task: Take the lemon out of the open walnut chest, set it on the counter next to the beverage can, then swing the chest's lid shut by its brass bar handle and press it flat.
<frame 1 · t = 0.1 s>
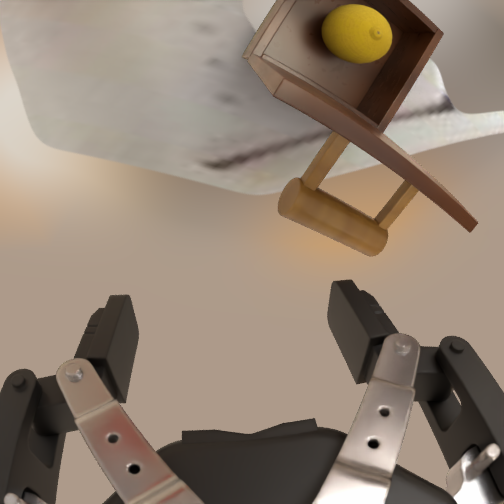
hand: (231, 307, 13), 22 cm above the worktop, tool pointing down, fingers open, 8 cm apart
chest: (332, 38, 25), on the worktop
lemon: (337, 34, 25), point 1 cm above the worktop, touching chest
lid: (331, 154, 19), point 13 cm above the worktop, hinge at 95.0°
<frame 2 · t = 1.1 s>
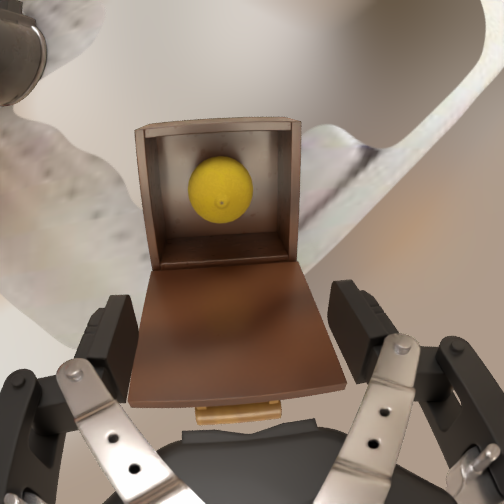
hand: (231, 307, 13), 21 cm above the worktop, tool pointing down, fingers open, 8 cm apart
chest: (219, 180, 32), on the worktop
lemon: (218, 177, 31), point 1 cm above the worktop, touching chest
lid: (231, 346, 24), point 13 cm above the worktop, hinge at 95.0°
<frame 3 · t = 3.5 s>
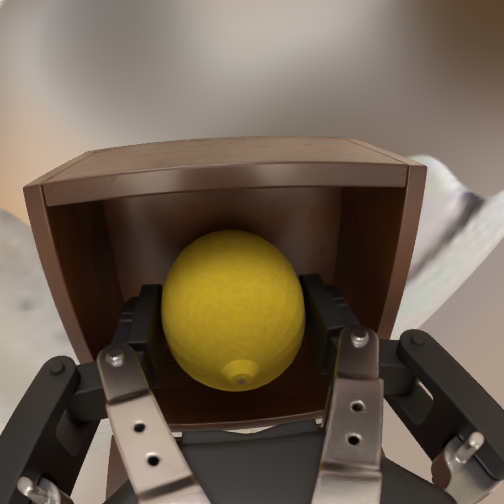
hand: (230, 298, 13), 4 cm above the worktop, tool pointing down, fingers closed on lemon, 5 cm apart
chest: (226, 259, 17), on the worktop
lemon: (226, 255, 16), point 1 cm above the worktop, touching chest, gripper
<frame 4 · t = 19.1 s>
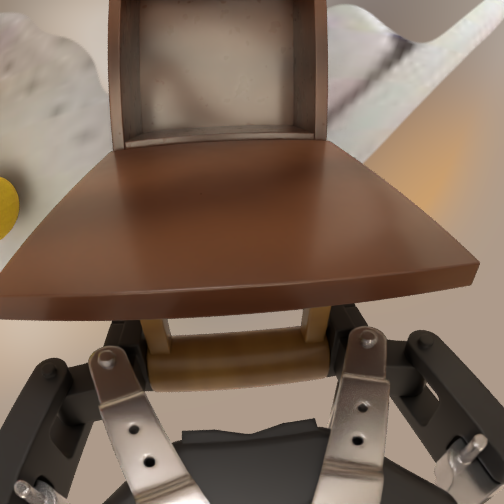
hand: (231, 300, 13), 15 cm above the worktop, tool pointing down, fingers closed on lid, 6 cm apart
chest: (216, 57, 21), on the worktop
lemon: (11, 194, 24), on the worktop
lid: (227, 243, 14), point 13 cm above the worktop, hinge at 95.1°, touching gripper
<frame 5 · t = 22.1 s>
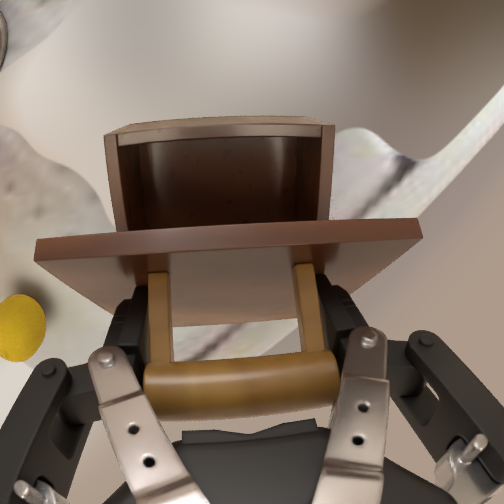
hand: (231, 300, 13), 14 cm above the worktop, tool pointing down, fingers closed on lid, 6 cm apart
chest: (219, 197, 25), on the worktop
lemon: (34, 301, 27), on the worktop
lid: (233, 344, 15), point 13 cm above the worktop, hinge at 40.5°, touching gripper
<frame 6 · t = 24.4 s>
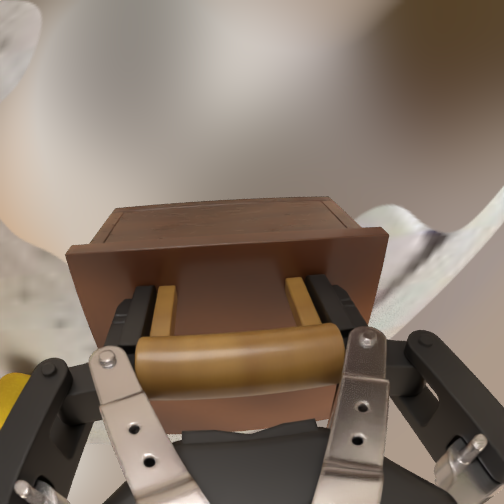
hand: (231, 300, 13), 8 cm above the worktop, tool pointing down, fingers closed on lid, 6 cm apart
chest: (226, 290, 22), on the worktop
lemon: (31, 374, 24), on the worktop
lid: (239, 400, 13), point 9 cm above the worktop, hinge at 2.1°, touching gripper
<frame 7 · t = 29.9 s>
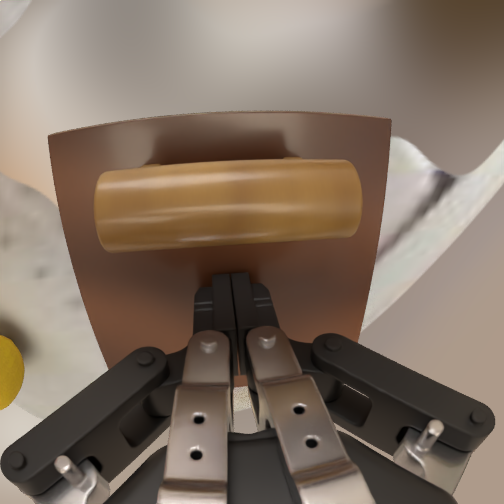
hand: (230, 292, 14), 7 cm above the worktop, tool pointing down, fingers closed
lemon: (11, 339, 22), on the worktop
lid: (231, 313, 11), point 9 cm above the worktop, hinge at -0.2°, touching chest, gripper
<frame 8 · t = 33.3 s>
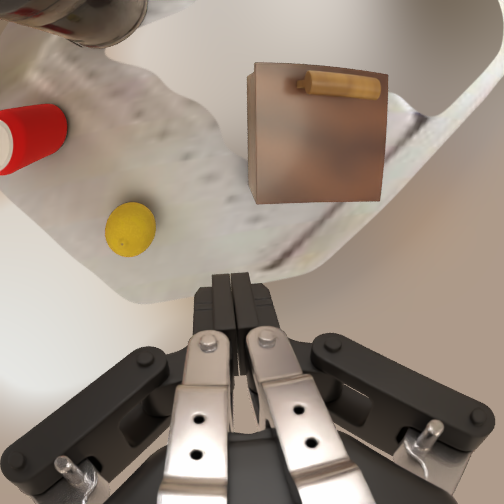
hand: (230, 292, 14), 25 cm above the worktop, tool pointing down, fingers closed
chest: (305, 131, 35), on the worktop
lemon: (138, 215, 37), on the worktop
beverage can: (50, 128, 31), on the worktop
lid: (333, 137, 27), point 9 cm above the worktop, hinge at -0.2°, touching chest
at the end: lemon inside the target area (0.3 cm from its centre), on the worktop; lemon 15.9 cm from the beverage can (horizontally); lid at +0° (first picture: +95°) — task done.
